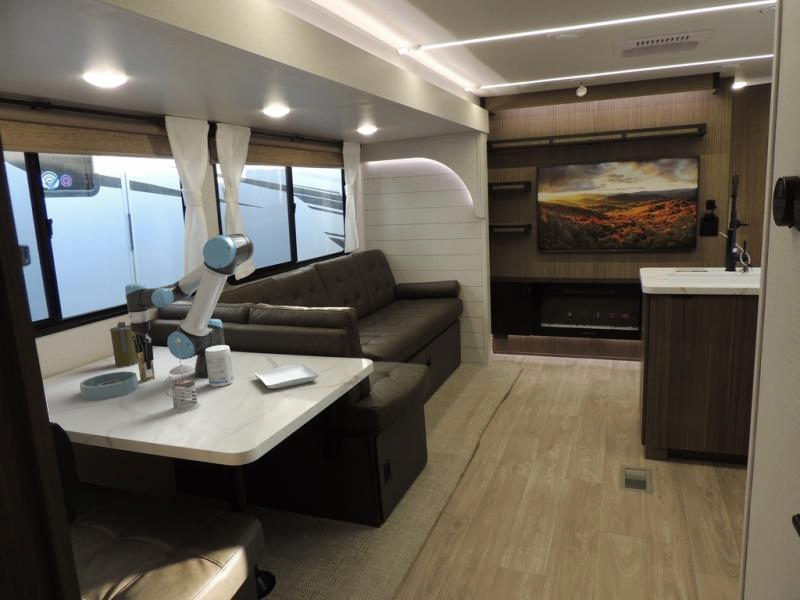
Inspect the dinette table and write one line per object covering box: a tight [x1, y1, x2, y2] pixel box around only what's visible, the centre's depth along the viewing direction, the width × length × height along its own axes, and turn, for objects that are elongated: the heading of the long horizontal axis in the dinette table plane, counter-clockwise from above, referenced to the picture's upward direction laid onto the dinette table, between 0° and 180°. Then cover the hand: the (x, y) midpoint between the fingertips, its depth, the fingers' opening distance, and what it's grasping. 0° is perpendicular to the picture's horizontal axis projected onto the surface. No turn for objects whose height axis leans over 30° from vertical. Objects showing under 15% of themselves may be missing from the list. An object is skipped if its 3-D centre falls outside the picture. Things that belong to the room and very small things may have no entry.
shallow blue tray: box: [79, 371, 139, 401], centre depth 230 cm, size 20×20×5 cm
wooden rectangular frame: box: [137, 352, 156, 383], centre depth 242 cm, size 2×5×12 cm, turn 141°
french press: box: [162, 339, 202, 413], centre depth 203 cm, size 10×12×25 cm
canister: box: [109, 321, 138, 368], centre depth 270 cm, size 11×10×20 cm
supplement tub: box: [205, 344, 235, 388], centre depth 230 cm, size 10×10×15 cm
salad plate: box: [254, 363, 320, 390], centre depth 230 cm, size 21×21×3 cm
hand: (147, 375), depth 243 cm, fingers closed on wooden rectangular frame, 2 cm apart
